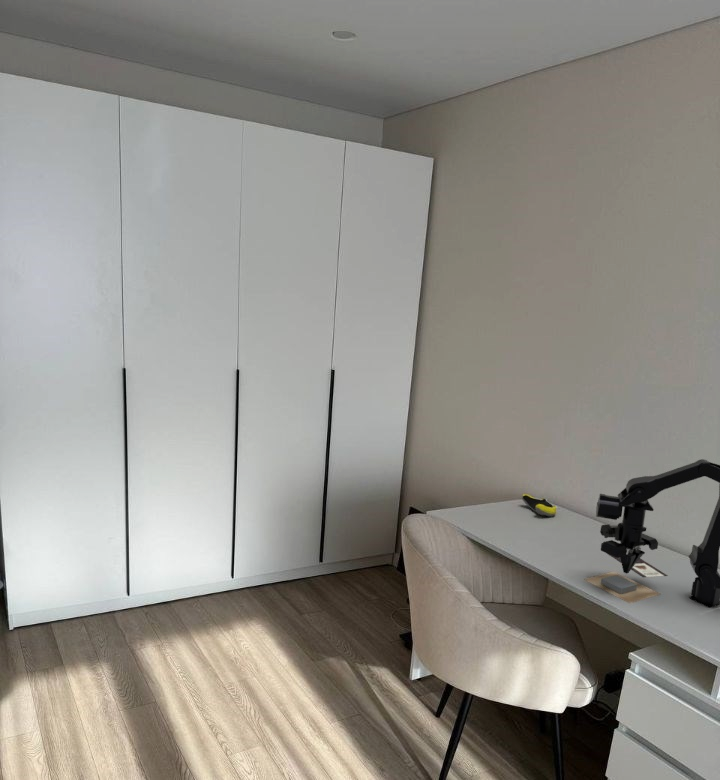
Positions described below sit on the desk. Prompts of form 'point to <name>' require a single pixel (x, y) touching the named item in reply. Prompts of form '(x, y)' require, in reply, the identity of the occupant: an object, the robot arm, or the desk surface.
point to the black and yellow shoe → (539, 505)
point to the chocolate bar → (644, 568)
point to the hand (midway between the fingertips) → (625, 572)
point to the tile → (619, 584)
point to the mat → (630, 596)
